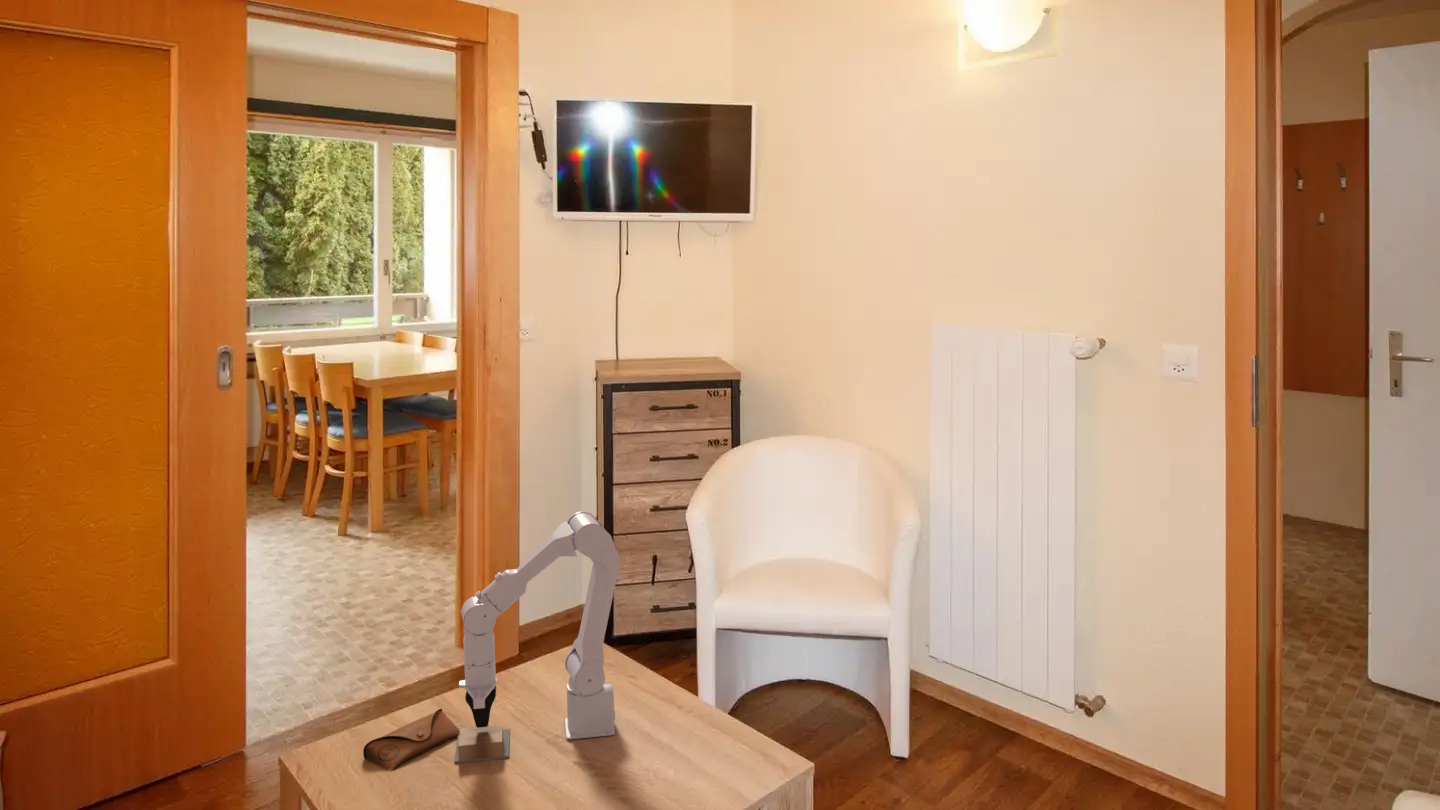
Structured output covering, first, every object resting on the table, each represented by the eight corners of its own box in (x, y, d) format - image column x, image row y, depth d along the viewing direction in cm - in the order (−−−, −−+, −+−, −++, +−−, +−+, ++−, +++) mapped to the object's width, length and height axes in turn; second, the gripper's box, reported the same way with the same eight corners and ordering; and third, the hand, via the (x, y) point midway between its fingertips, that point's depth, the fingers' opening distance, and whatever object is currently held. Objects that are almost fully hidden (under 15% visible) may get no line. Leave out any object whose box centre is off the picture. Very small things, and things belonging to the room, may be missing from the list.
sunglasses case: (389, 773, 168) (377, 738, 169) (371, 780, 172) (358, 746, 173) (468, 732, 182) (456, 700, 183) (449, 739, 187) (437, 708, 188)
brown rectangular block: (502, 724, 179) (501, 741, 173) (503, 738, 180) (502, 756, 173) (460, 728, 177) (458, 746, 171) (460, 742, 178) (458, 760, 172)
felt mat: (509, 730, 183) (509, 729, 183) (509, 757, 174) (508, 755, 174) (458, 735, 181) (458, 733, 181) (454, 763, 172) (454, 761, 171)
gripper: (460, 645, 181) (463, 709, 183) (455, 678, 167) (458, 747, 169) (497, 642, 182) (499, 705, 184) (495, 675, 168) (497, 743, 170)
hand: (482, 725), depth 177 cm, fingers closed
